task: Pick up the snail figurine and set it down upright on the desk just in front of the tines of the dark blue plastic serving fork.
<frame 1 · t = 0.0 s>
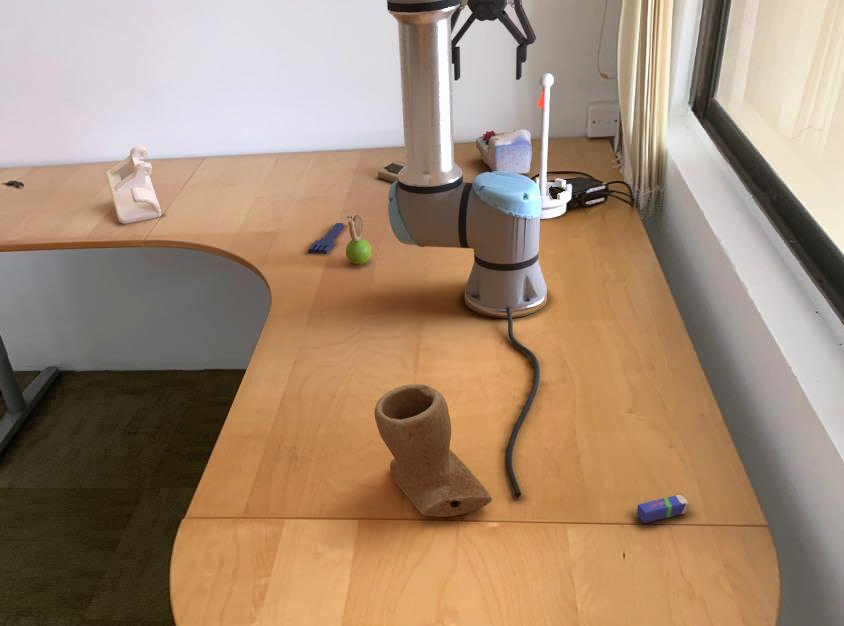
hand: (487, 78, 185), 28 cm above the table, tool pointing down, fingers open, 13 cm apart
fork: (329, 239, 190), on the table
white angular piece: (138, 211, 217), on the table
clay pipe: (429, 491, 115), on the table
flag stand: (541, 210, 193), on the table
eraser: (661, 516, 107), on the table
snail figurine: (359, 265, 178), on the table
computer: (409, 181, 217), on the table
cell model: (507, 167, 219), on the table
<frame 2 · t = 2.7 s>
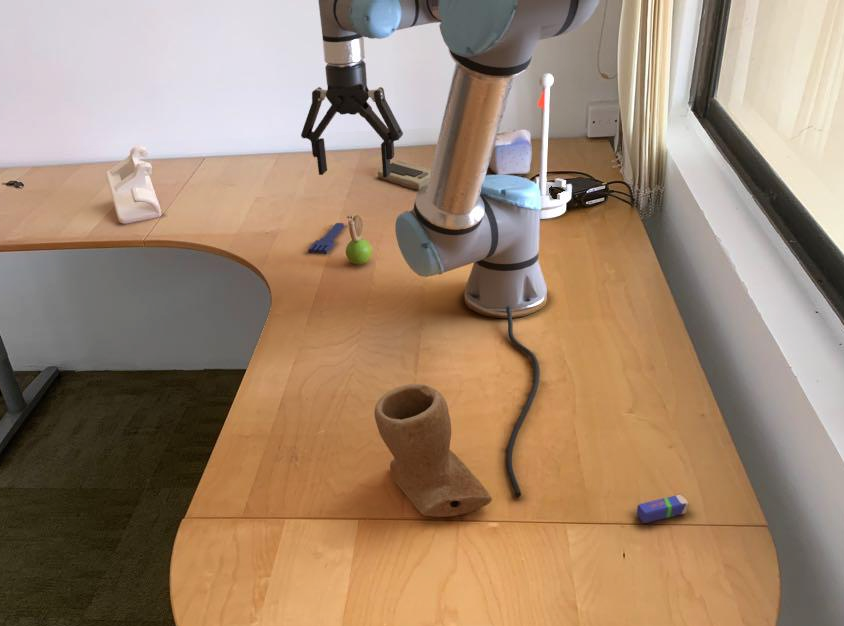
hand: (354, 173, 168), 19 cm above the table, tool pointing down, fingers open, 13 cm apart
nothing on the table moved.
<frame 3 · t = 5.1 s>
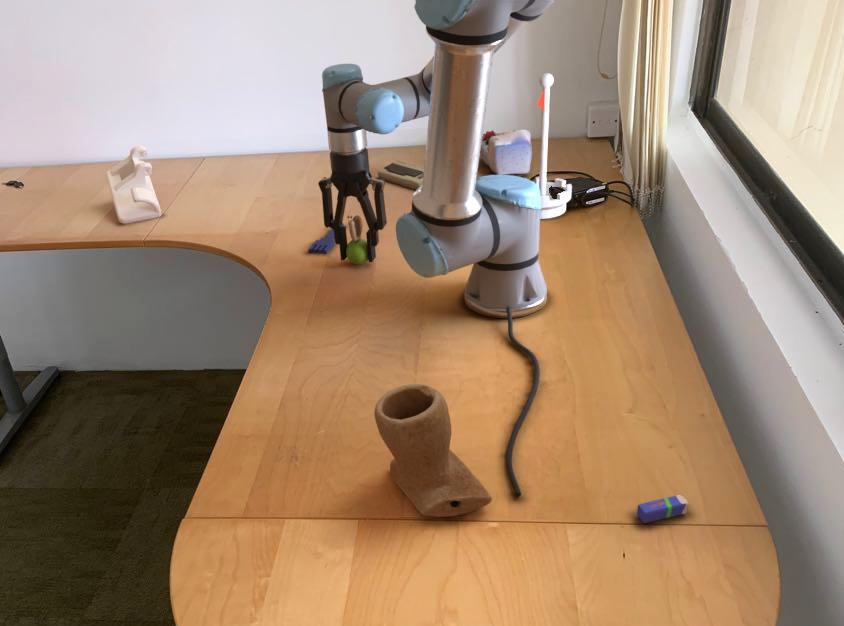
hand: (358, 258, 177), 1 cm above the table, tool pointing down, fingers closed on snail figurine, 5 cm apart
snail figurine: (359, 265, 178), on the table, touching gripper
everything else where it was.
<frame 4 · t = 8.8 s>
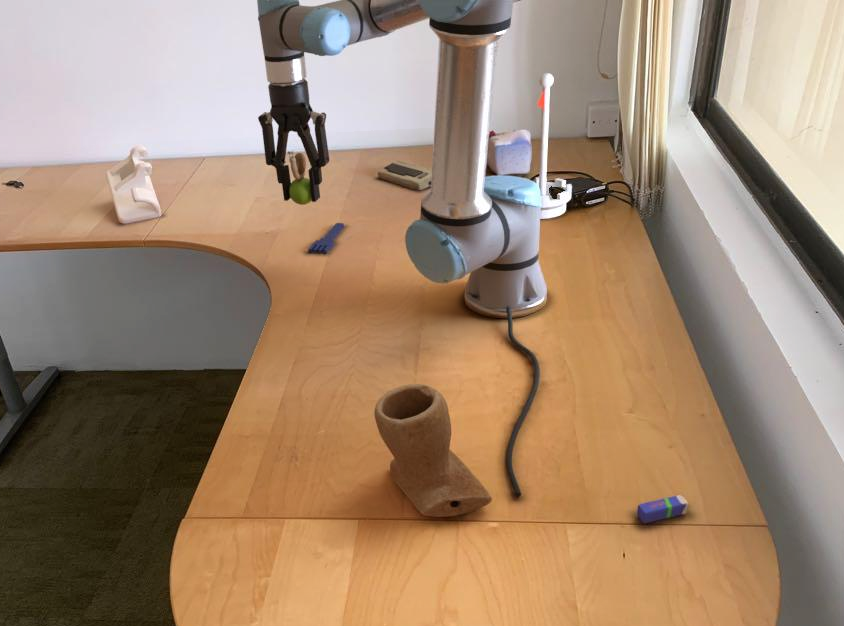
hand: (302, 198, 172), 15 cm above the table, tool pointing down, fingers closed on snail figurine, 5 cm apart
snail figurine: (303, 205, 173), point 13 cm above the table, touching gripper
everything else where it was.
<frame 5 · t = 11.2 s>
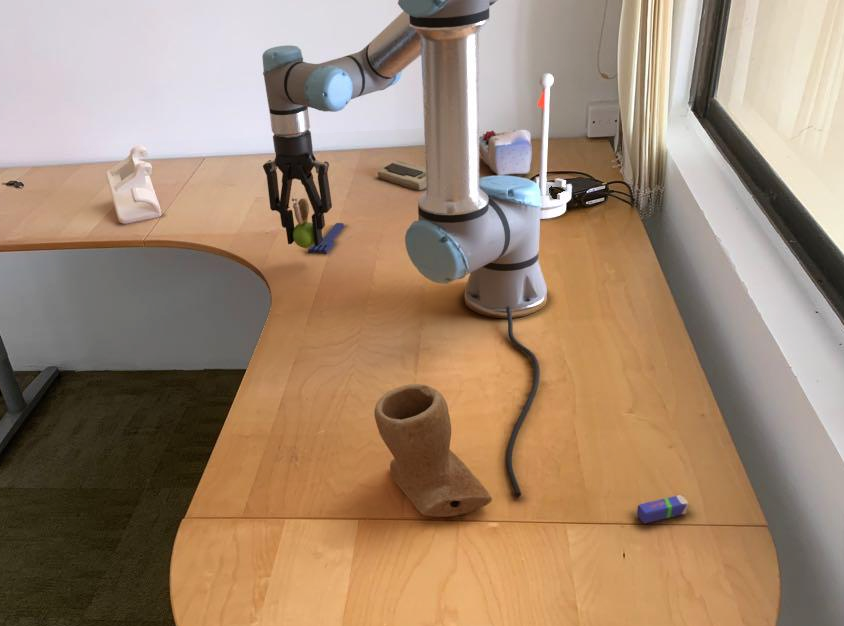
hand: (305, 242, 177), 5 cm above the table, tool pointing down, fingers closed on snail figurine, 5 cm apart
snail figurine: (306, 248, 178), point 4 cm above the table, touching gripper
everything else where it was.
when the fingers open (1 cm above the table, at t = 12.6 s): snail figurine stays where it is, on the table.
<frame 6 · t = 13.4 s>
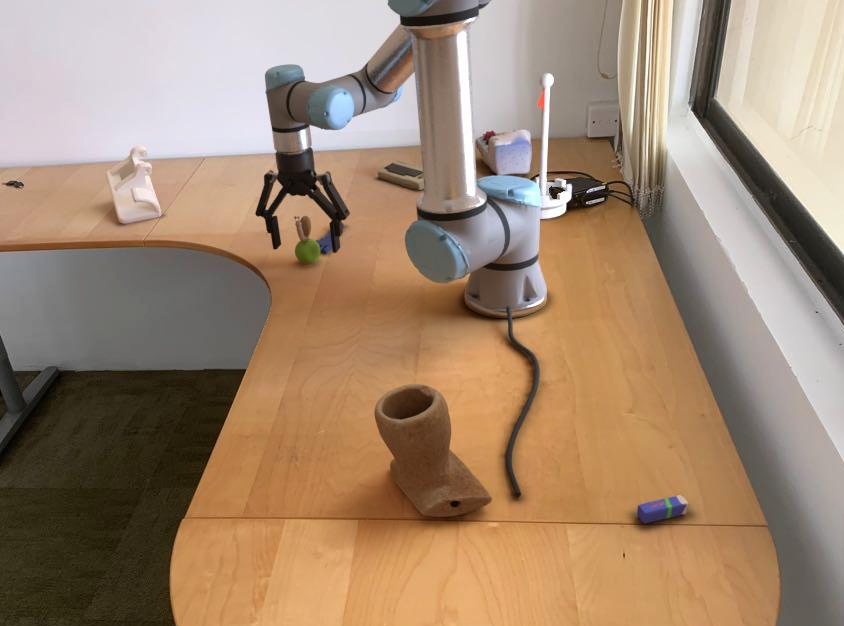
hand: (306, 248, 178), 4 cm above the table, tool pointing down, fingers open, 13 cm apart
snail figurine: (308, 264, 180), on the table
everything else where it was.
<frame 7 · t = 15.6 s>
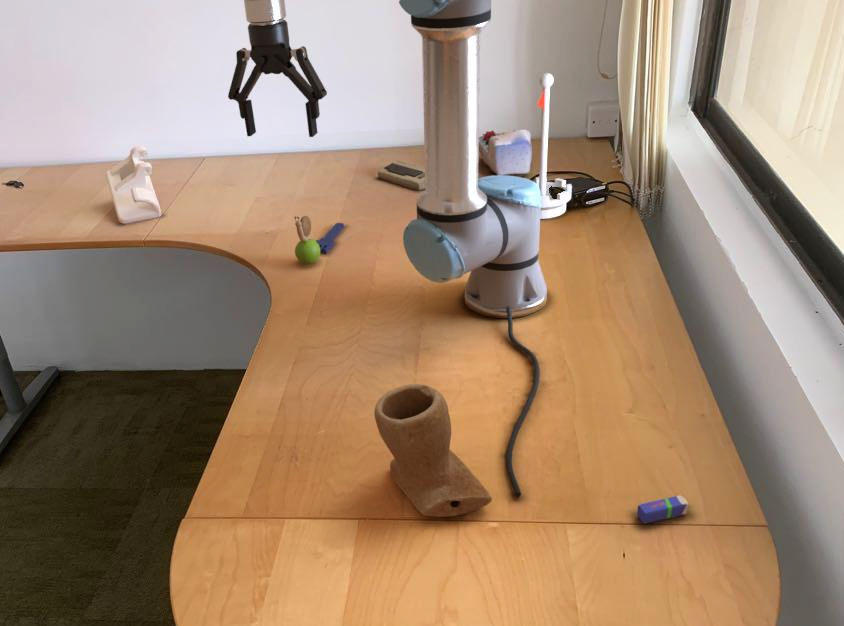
hand: (282, 134, 170), 26 cm above the table, tool pointing down, fingers open, 13 cm apart
nothing on the table moved.
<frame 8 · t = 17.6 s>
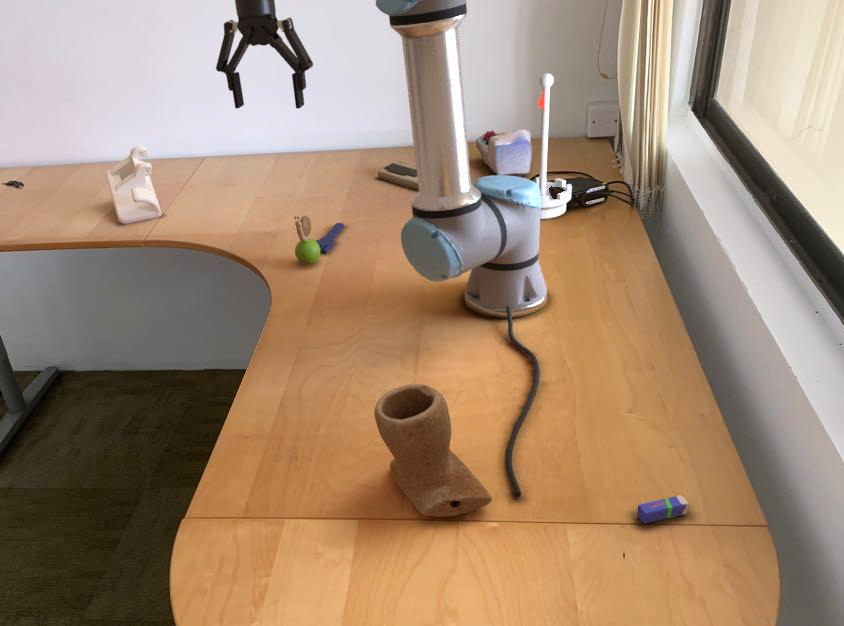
hand: (269, 106, 172), 31 cm above the table, tool pointing down, fingers open, 13 cm apart
nothing on the table moved.
at the end: snail figurine inside the target area on the table beside the fork (1.5 cm from its centre), on the table; snail figurine tilted 0°; snail figurine touching table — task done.
